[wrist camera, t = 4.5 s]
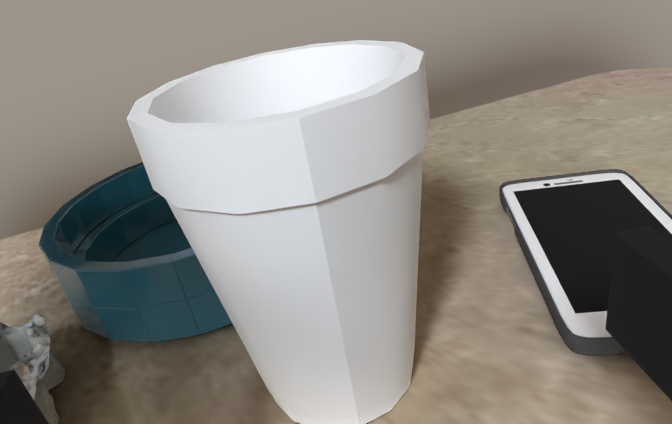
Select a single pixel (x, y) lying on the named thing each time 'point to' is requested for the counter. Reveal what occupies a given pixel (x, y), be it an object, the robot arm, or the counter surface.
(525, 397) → the counter surface
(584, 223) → the cell phone
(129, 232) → the bowl
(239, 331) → the foam cup
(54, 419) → the egg carton
